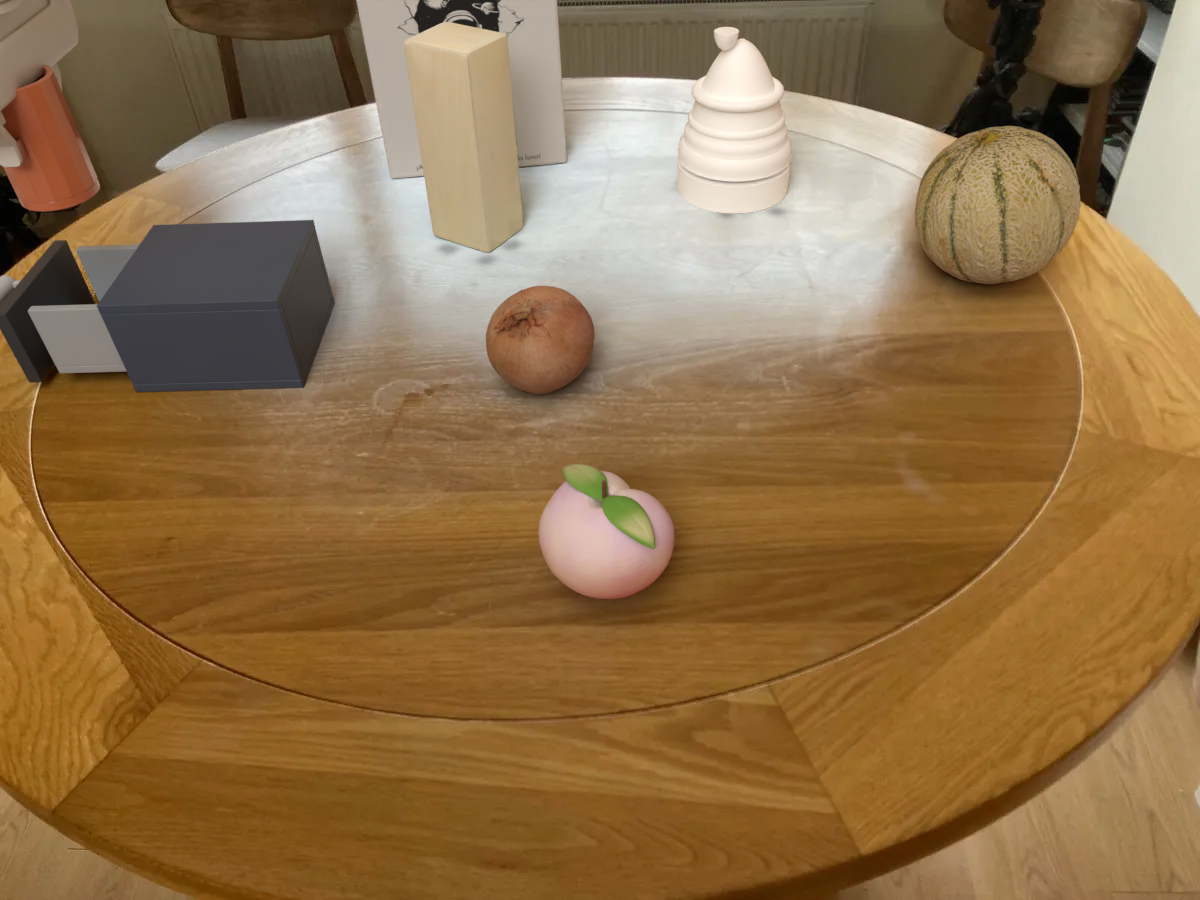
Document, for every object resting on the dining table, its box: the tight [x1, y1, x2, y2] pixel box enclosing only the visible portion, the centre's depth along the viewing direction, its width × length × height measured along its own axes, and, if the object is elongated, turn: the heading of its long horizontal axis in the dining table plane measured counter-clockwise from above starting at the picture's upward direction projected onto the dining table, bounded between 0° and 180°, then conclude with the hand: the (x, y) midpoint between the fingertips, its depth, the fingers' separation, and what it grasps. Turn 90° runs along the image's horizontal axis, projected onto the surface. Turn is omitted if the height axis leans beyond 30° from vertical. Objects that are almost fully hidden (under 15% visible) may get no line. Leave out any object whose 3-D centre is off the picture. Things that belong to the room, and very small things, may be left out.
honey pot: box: [676, 26, 793, 215], centre depth 106 cm, size 13×13×18 cm
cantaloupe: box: [914, 125, 1081, 285], centre depth 92 cm, size 15×15×15 cm
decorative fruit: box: [538, 463, 676, 600], centre depth 65 cm, size 9×8×10 cm
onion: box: [485, 285, 596, 395], centre depth 83 cm, size 10×9×10 cm
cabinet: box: [96, 219, 336, 393], centre depth 89 cm, size 15×14×9 cm
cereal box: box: [355, 0, 568, 180], centre depth 112 cm, size 22×8×25 cm, turn 98°
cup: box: [1, 65, 101, 212], centre depth 79 cm, size 6×6×10 cm
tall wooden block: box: [404, 22, 524, 253], centre depth 100 cm, size 8×7×21 cm
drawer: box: [0, 239, 140, 384], centre depth 89 cm, size 19×13×7 cm
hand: (37, 141), depth 80 cm, fingers closed on cup, 6 cm apart
